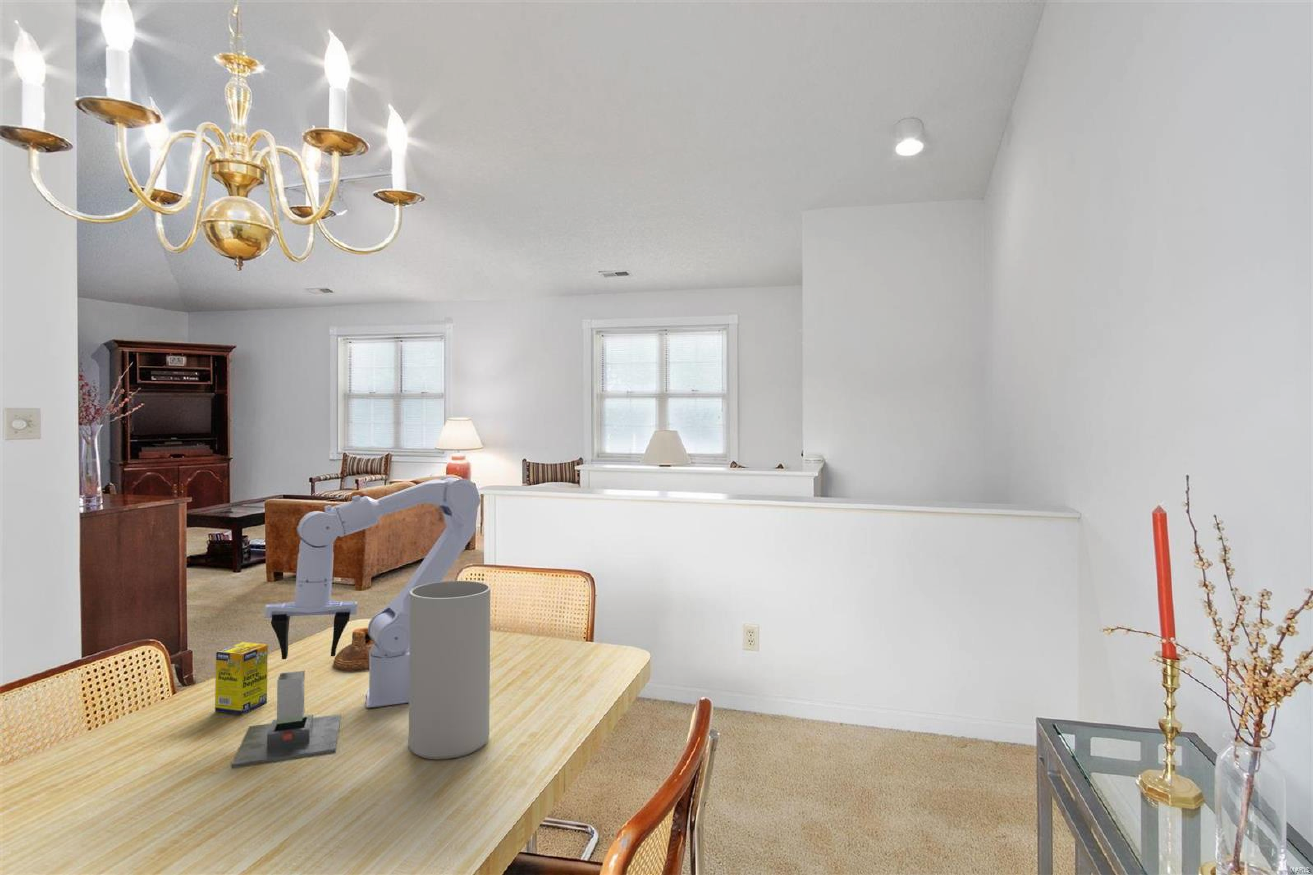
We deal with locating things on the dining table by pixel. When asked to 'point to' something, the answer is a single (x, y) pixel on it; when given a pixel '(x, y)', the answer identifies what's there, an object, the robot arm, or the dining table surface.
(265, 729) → the stand base
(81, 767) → the dining table surface
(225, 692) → the supplement box
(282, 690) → the column
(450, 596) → the cylinder vase
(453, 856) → the dining table surface
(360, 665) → the bell
